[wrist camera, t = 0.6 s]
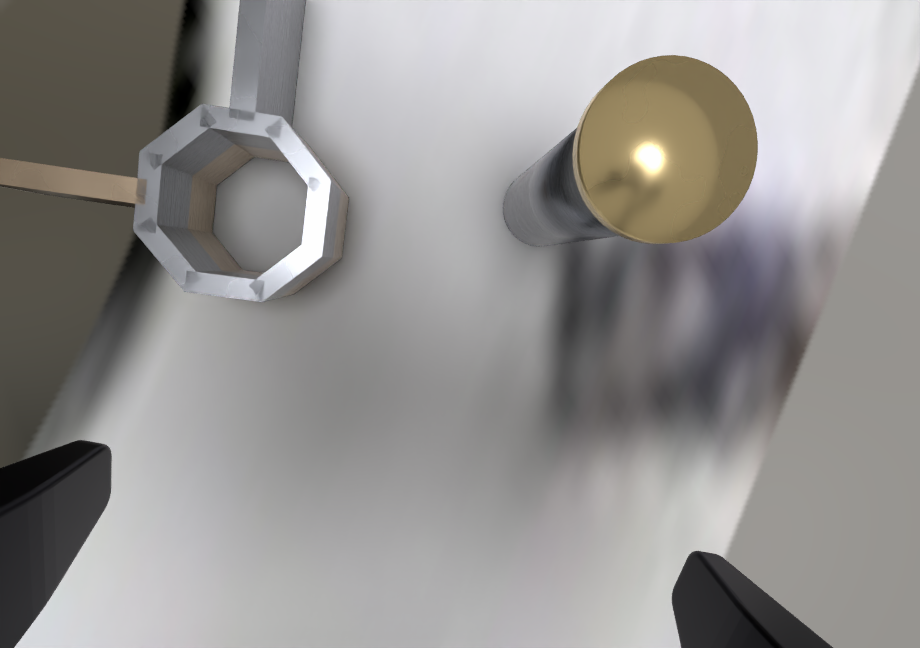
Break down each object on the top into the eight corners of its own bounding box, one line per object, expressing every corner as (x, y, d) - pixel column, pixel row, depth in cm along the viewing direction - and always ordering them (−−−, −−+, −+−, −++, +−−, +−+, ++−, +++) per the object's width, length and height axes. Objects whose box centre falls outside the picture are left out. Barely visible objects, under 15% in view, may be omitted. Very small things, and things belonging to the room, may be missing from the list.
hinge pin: (576, 259, 24) (739, 254, 12) (490, 246, 24) (567, 228, 12) (590, 170, 24) (773, 72, 12) (503, 155, 24) (596, 40, 11)
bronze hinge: (337, 299, 24) (316, 309, 19) (43, 260, 23) (-61, 259, 18) (371, 10, 23) (358, -60, 18) (64, -45, 22) (-40, -137, 17)
